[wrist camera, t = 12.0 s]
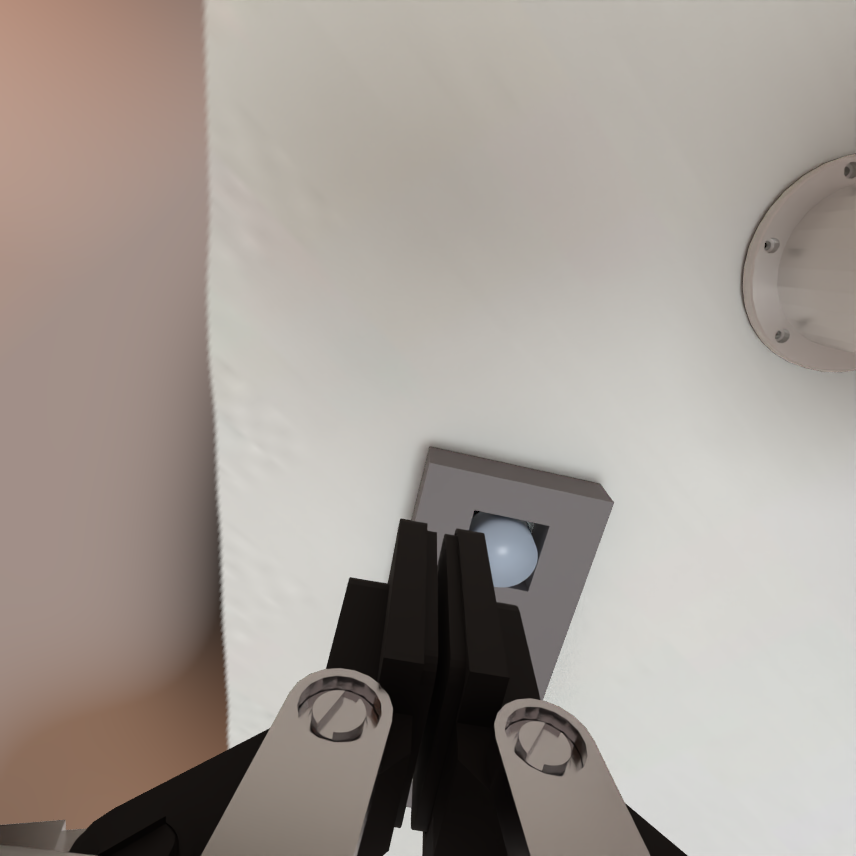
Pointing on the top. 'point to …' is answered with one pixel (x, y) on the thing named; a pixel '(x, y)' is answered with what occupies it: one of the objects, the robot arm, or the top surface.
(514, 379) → the top surface
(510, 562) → the slate blue button
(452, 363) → the top surface
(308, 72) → the top surface
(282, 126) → the top surface
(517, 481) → the button panel
